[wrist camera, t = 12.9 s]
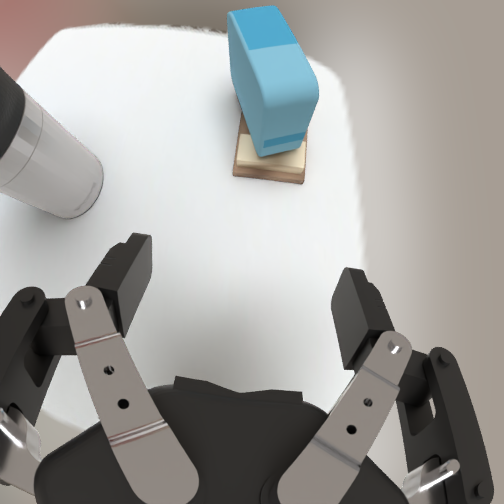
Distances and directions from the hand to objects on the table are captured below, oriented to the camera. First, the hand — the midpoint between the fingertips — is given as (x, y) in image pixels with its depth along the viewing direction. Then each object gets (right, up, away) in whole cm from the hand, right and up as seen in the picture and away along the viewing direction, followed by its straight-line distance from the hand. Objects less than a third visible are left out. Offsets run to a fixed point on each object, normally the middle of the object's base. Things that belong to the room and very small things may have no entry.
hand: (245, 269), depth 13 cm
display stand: (+3, +15, +23) cm, 28 cm away
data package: (+2, +16, +20) cm, 26 cm away
